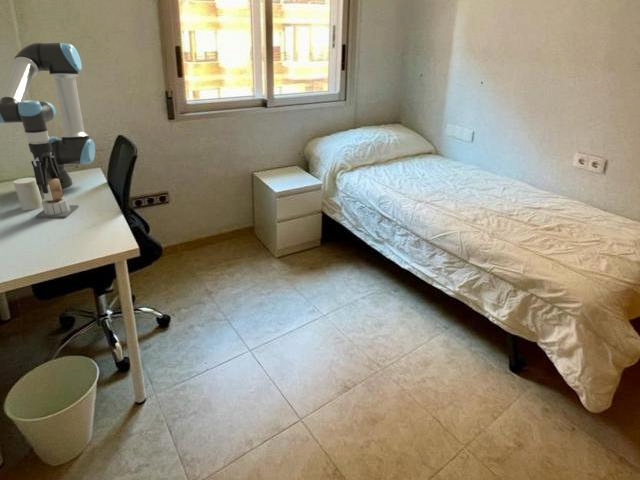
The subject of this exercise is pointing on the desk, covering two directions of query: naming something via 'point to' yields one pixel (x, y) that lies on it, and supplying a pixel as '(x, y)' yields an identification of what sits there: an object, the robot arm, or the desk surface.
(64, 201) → the socket
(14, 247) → the desk surface
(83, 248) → the desk surface
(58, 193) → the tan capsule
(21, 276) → the desk surface
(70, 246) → the desk surface
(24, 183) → the cup
